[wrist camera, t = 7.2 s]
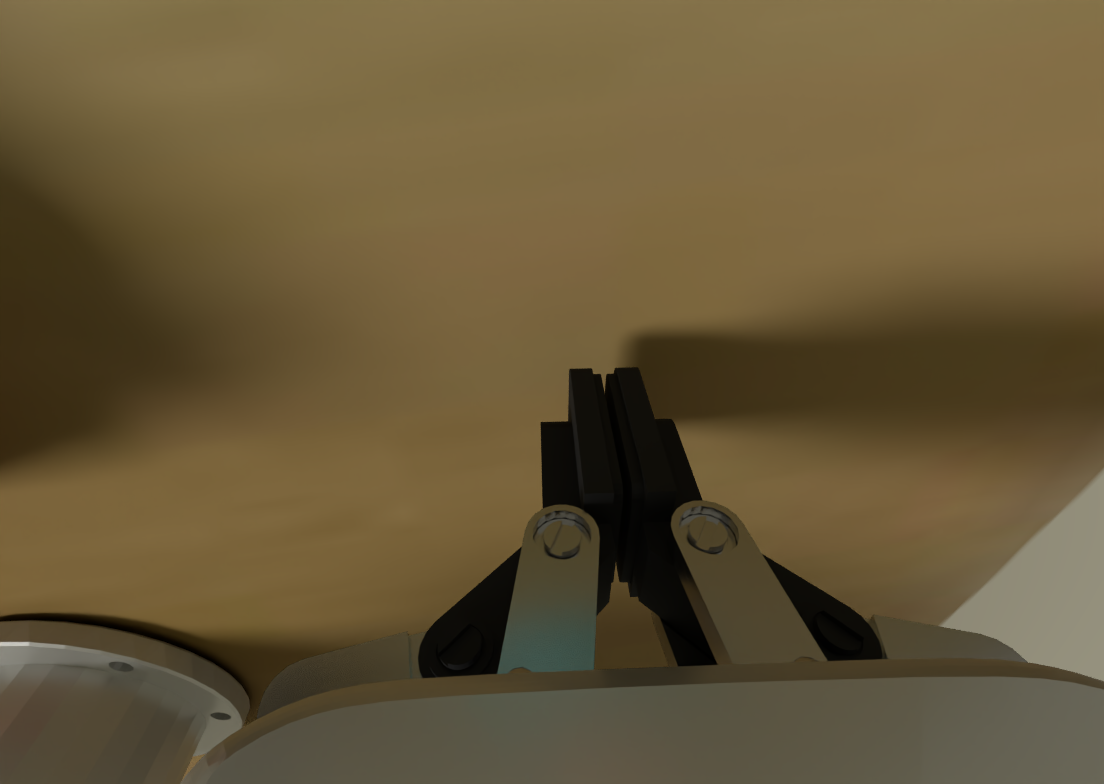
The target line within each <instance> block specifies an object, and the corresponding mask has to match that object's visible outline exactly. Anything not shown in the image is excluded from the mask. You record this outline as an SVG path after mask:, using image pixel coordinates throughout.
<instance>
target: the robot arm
mask: <svg viewBox="0 0 1104 784" xmlns="http://www.w3.org/2000/svg"><path fill="white" fill-rule="evenodd" d="M541 455H542V496H543V509H542V510H540V511H539V512H537V513H535V514H534V516H533V517H532V518H531V519H530V520H529V522H528V524H527V527H526V529H525V533H524V538H523V544H522V547H521V548H520V549H519V550H517V551H516V552H515V553H514V554H513V555H512V556H510V557H509V558H508V559H507V560H506V561H505V562H504V563H502V564H501V565H500V566H499V567H498V568H497V569H496V570H494V571H493V572H492V573H491V574H490V575H489V576H487V577H486V578H485V579H484V580H483V581H482V582H481V583H479V584H478V585H477V586H476V587H475V588H474V589H473V590H471V591H470V592H469V593H468V594H467V595H466V596H464V597H463V598H462V599H461V600H460V601H459V602H458V603H456V604H455V605H454V606H453V607H452V608H451V609H450V610H448V611H447V612H446V613H445V614H444V615H443V616H441V617H440V618H439V619H438V620H437V621H436V622H435V623H434V624H433V625H432V626H431V627H430V629H429V630H428V631H426V632H422V633H419V634H415V635H411V636H409V634H408V631H407V632H403V633H399V634H396V635H392V636H388V637H384V638H381V639H377V640H373V641H370V642H366V643H362V644H358V645H355V646H351V647H347V648H343V649H340V650H336V651H332V652H328V653H325V654H321V655H317V656H313V657H310V658H306V659H303V660H300V661H298V662H296V663H294V664H291V665H289V666H288V667H287V668H285V669H284V670H283V671H282V672H280V673H279V674H278V675H277V676H276V677H275V678H274V679H273V680H272V682H271V683H270V685H269V686H268V687H267V689H266V690H265V692H264V694H263V697H262V700H261V703H260V705H259V709H258V715H257V720H255V721H253V722H251V723H249V724H248V725H246V726H244V727H243V725H244V723H245V720H246V717H247V715H248V712H249V710H250V703H249V697H248V696H247V694H246V692H245V690H244V689H243V687H242V685H241V684H240V683H239V682H238V681H237V680H236V679H235V678H233V677H232V676H231V675H230V674H229V673H228V672H226V671H225V670H223V669H222V668H220V667H219V666H217V665H216V664H214V663H212V662H210V661H208V660H206V659H204V658H202V657H200V656H198V655H196V654H194V653H192V652H190V651H187V650H185V649H182V648H179V647H177V646H174V645H172V644H169V643H166V642H163V641H160V640H156V639H153V638H149V637H146V636H142V635H139V634H136V633H131V632H127V631H122V630H117V629H112V628H107V627H102V626H96V625H88V624H81V623H73V622H64V621H43V620H21V621H1V622H0V784H1104V681H1101V680H1098V679H1094V678H1091V677H1088V676H1085V675H1082V674H1078V673H1075V672H1071V671H1067V670H1062V669H1059V668H1055V667H1050V666H1044V665H1039V664H1034V663H1028V662H1027V661H1026V660H1025V659H1023V658H1022V657H1021V656H1020V655H1019V654H1018V653H1017V652H1016V651H1014V650H1013V649H1012V648H1010V647H1008V646H1007V645H1005V644H1003V643H1002V642H1000V641H998V640H997V639H994V638H991V637H988V636H984V635H982V634H978V633H972V632H966V631H961V630H955V629H950V628H944V627H939V626H933V625H928V624H922V623H917V622H911V621H906V620H900V619H895V618H889V617H884V616H878V615H873V616H872V617H871V619H865V618H863V617H862V616H860V615H859V614H858V613H856V612H855V611H854V610H852V609H851V608H850V607H848V606H847V605H845V604H843V603H842V602H840V601H838V600H837V599H835V598H833V597H832V596H830V595H829V594H827V593H825V592H824V591H822V590H820V589H819V588H817V587H815V586H814V585H812V584H810V583H809V582H807V581H806V580H804V579H802V578H801V577H799V576H797V575H796V574H794V573H792V572H791V571H789V570H787V569H786V568H784V567H783V566H781V565H779V564H778V563H776V562H774V561H773V560H771V559H769V558H768V557H766V556H764V555H763V554H762V553H761V552H760V550H759V548H758V547H757V545H756V543H755V542H754V540H753V539H752V537H751V535H750V534H749V532H748V530H747V529H746V527H745V526H744V524H743V523H742V521H741V520H740V519H739V518H738V517H737V515H736V514H734V513H733V512H732V511H730V510H729V509H728V508H726V507H724V506H721V505H719V504H717V503H714V502H709V501H703V500H702V498H701V495H700V492H699V489H698V487H697V484H696V481H695V478H694V476H693V473H692V470H691V467H690V465H689V462H688V459H687V456H686V453H685V451H684V448H683V445H682V442H681V440H680V437H679V434H678V431H677V429H676V426H675V424H674V422H673V420H672V419H655V418H654V415H653V412H652V409H651V406H650V403H649V399H648V396H647V393H646V390H645V387H644V384H643V380H642V377H641V374H640V371H639V369H638V368H637V367H632V368H615V370H614V374H607V375H606V385H605V393H604V388H603V383H602V378H601V374H593V371H592V369H591V368H588V369H570V370H569V406H568V421H567V422H541ZM615 563H616V565H617V571H618V577H619V581H620V582H628V587H629V592H630V597H638V598H639V601H640V602H641V603H642V604H644V605H645V606H646V607H648V608H649V609H650V610H651V611H652V612H651V614H652V619H653V624H654V626H655V629H656V632H657V635H658V637H659V640H660V643H661V646H662V649H663V651H664V654H665V657H666V660H667V662H668V665H669V667H653V668H627V669H602V670H594V656H595V633H596V616H597V615H598V614H599V613H600V611H601V610H602V609H603V608H604V607H605V606H606V605H607V604H608V602H609V598H610V590H611V583H613V579H614V571H615ZM206 753H207V754H206ZM201 754H206V755H204V756H203V757H202V758H201V759H200V760H199V762H198V763H197V764H196V765H195V766H194V767H193V768H192V769H191V771H190V772H189V773H188V774H187V775H186V776H185V778H184V779H183V780H182V778H183V776H184V774H185V772H186V770H187V768H188V765H189V763H190V761H191V759H192V757H193V756H197V755H201ZM181 780H182V782H181Z"/></svg>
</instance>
